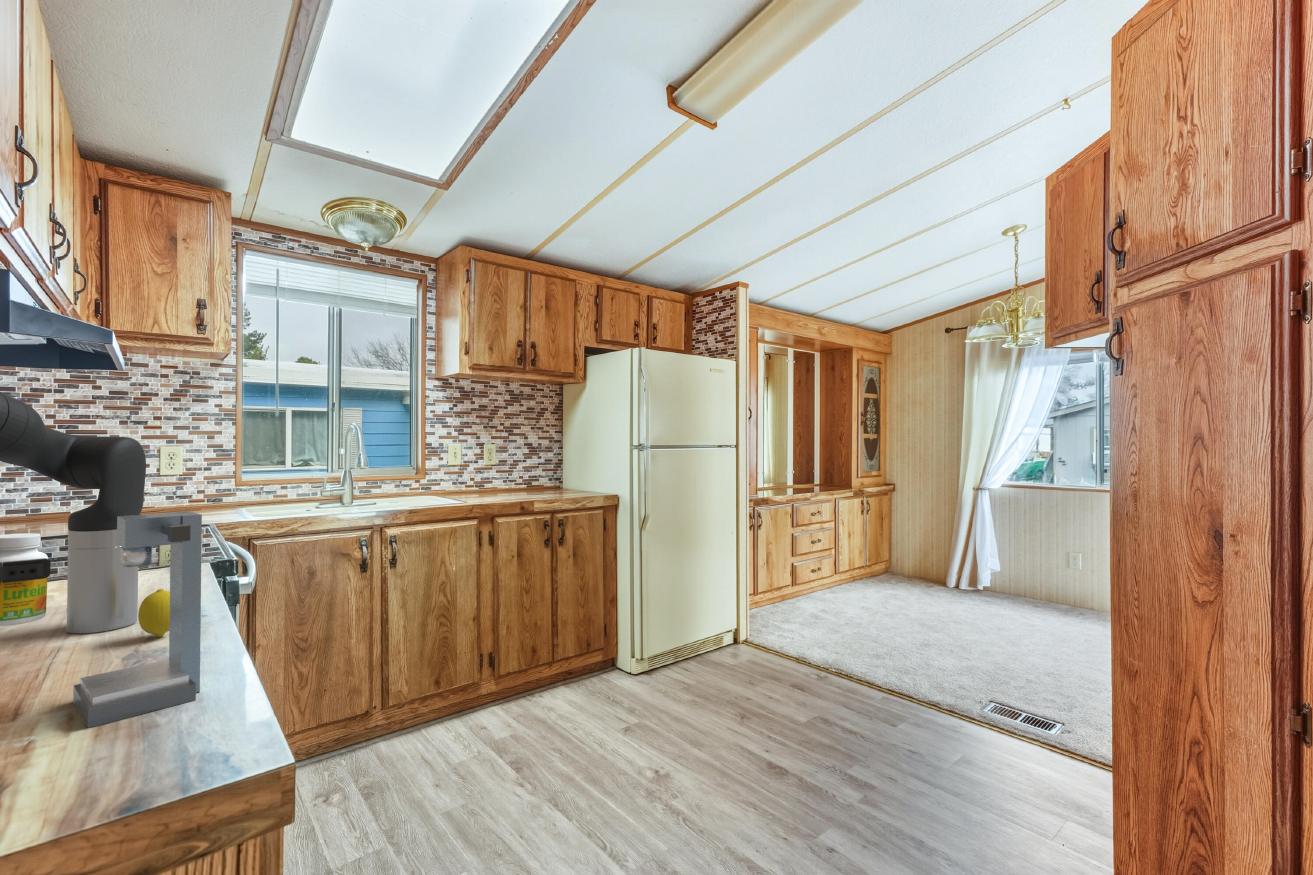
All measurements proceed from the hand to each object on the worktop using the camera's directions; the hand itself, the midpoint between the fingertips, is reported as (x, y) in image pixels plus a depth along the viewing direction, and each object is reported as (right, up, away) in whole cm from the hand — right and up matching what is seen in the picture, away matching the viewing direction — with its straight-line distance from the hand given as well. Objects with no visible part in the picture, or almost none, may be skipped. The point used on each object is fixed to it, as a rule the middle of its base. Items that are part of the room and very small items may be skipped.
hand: (46, 564), depth 71 cm
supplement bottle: (-2, -6, -2) cm, 7 cm away
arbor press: (+8, -18, +4) cm, 20 cm away
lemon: (-11, -19, +30) cm, 37 cm away
